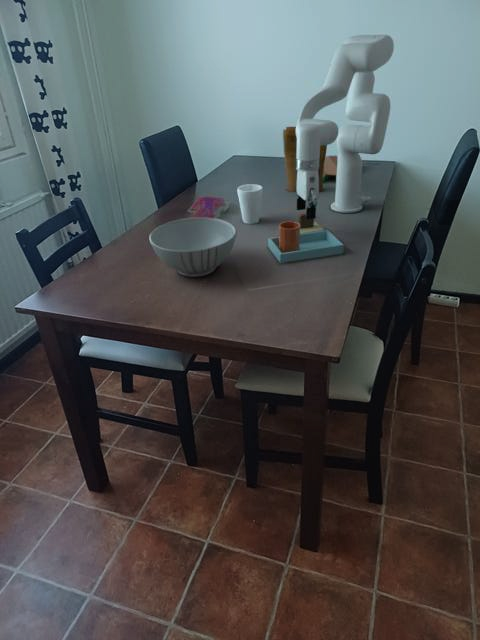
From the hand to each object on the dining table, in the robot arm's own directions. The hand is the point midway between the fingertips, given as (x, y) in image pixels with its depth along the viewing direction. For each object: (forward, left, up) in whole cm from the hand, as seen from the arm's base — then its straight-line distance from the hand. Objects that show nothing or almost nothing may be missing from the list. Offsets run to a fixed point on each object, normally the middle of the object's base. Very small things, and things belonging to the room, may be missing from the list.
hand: (305, 213), depth 166 cm
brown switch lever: (0, 0, -5) cm, 5 cm away
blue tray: (+5, +12, -8) cm, 15 cm away
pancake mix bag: (-17, -48, -8) cm, 51 cm away
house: (-37, -69, -8) cm, 79 cm away
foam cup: (+15, -21, -8) cm, 27 cm away
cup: (+10, +12, -8) cm, 18 cm away
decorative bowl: (+42, +13, -8) cm, 44 cm away
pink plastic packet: (+30, -33, -8) cm, 45 cm away
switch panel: (+1, 0, -8) cm, 8 cm away
